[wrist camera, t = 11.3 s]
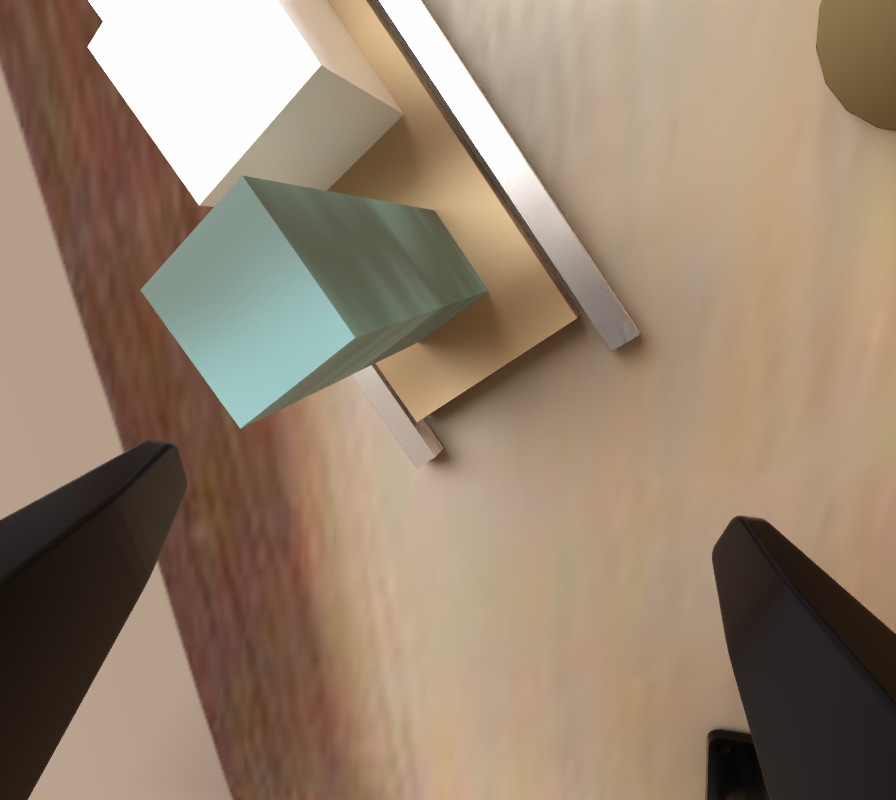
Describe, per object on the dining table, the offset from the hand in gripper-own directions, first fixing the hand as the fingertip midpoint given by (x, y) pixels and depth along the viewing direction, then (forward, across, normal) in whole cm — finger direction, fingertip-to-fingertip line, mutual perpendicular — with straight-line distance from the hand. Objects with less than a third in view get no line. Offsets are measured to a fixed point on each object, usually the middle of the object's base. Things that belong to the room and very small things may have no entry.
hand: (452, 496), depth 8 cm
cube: (+14, +6, -3) cm, 15 cm away
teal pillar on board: (+13, +4, -1) cm, 14 cm away
